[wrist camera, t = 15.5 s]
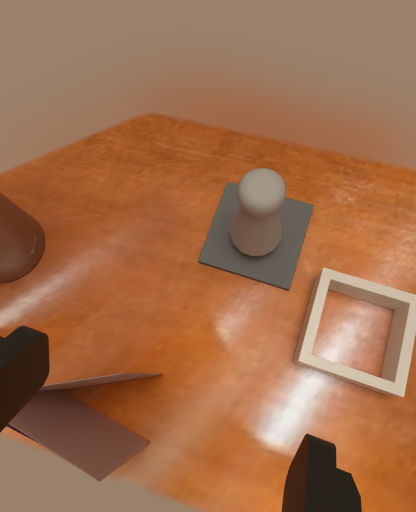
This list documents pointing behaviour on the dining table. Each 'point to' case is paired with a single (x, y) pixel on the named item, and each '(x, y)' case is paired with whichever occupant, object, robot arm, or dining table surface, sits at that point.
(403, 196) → the dining table surface
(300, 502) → the robot arm
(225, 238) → the mat
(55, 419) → the greeting card
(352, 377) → the collar
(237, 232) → the salt shaker
